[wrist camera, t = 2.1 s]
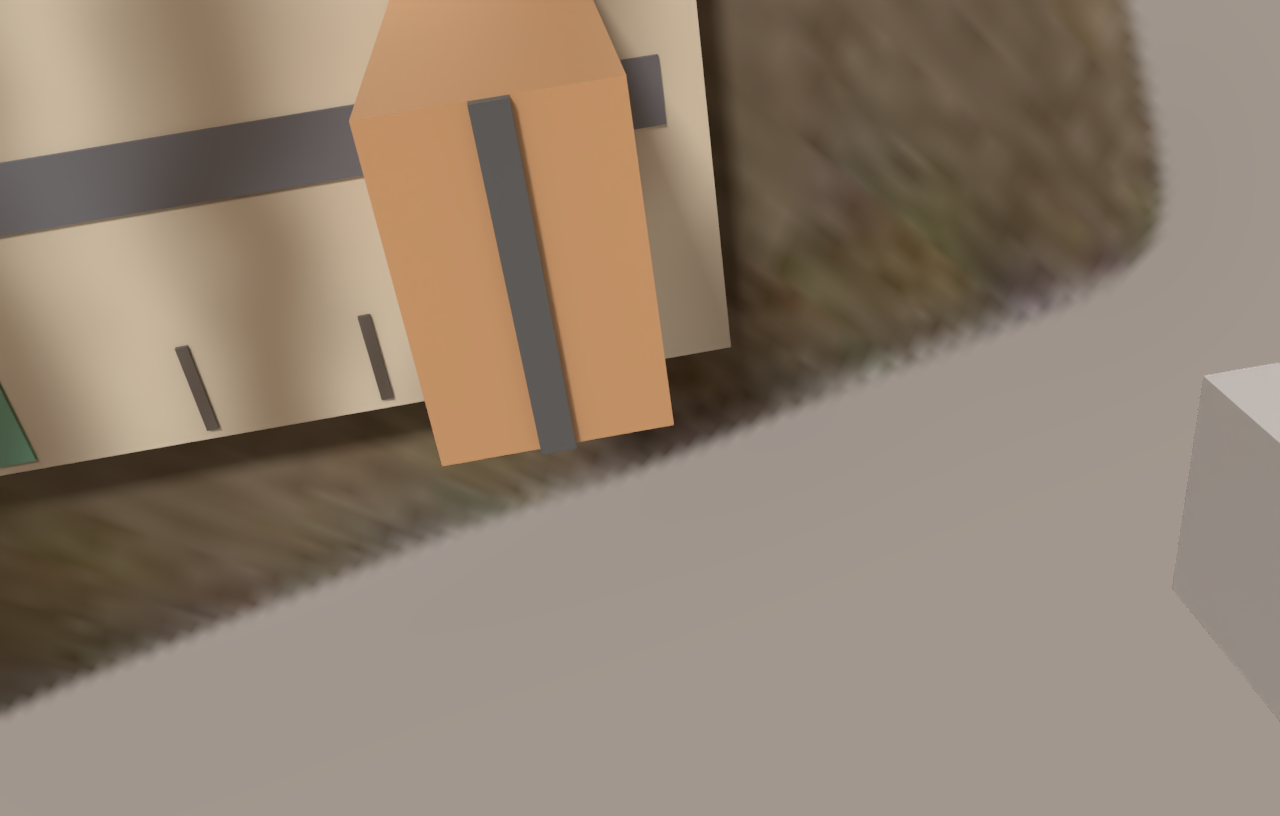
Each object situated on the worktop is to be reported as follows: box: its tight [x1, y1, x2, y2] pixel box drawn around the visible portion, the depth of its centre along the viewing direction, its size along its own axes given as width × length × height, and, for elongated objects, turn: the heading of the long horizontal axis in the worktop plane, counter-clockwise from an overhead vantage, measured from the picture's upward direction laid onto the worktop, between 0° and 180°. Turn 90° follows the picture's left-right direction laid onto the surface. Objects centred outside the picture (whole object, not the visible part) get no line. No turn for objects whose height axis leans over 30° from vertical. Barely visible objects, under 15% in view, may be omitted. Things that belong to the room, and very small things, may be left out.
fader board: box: [0, 0, 731, 476], centre depth 26 cm, size 23×14×2 cm, turn 98°
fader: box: [349, 0, 674, 466], centre depth 21 cm, size 4×6×9 cm, turn 8°
